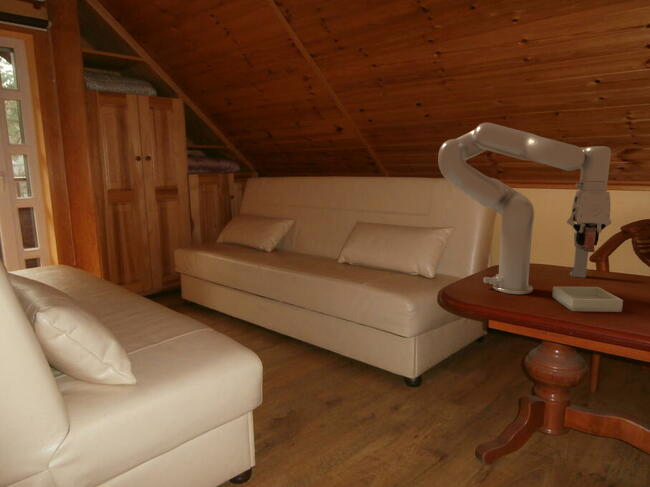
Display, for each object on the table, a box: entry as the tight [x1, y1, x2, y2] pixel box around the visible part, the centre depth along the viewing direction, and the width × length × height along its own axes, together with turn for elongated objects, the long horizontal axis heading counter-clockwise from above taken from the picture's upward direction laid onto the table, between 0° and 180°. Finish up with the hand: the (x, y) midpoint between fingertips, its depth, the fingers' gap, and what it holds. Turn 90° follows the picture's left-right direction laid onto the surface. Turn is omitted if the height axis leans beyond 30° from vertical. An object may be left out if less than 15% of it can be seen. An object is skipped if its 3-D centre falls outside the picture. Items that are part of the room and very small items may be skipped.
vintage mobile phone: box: [569, 231, 589, 279], centre depth 172 cm, size 4×5×25 cm
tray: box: [552, 285, 624, 313], centre depth 142 cm, size 14×14×4 cm
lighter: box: [578, 223, 597, 253], centre depth 147 cm, size 8×3×10 cm, turn 172°
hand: (586, 244), depth 148 cm, fingers closed on lighter, 3 cm apart
